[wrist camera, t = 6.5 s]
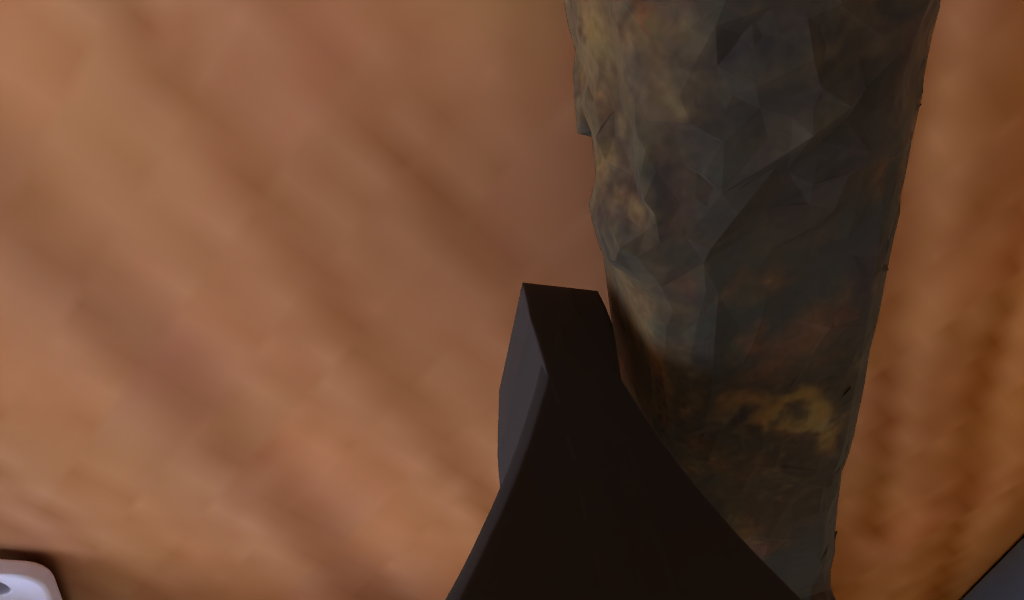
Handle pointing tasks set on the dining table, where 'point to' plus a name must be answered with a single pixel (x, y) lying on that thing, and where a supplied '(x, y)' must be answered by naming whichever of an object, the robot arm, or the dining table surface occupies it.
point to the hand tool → (751, 235)
